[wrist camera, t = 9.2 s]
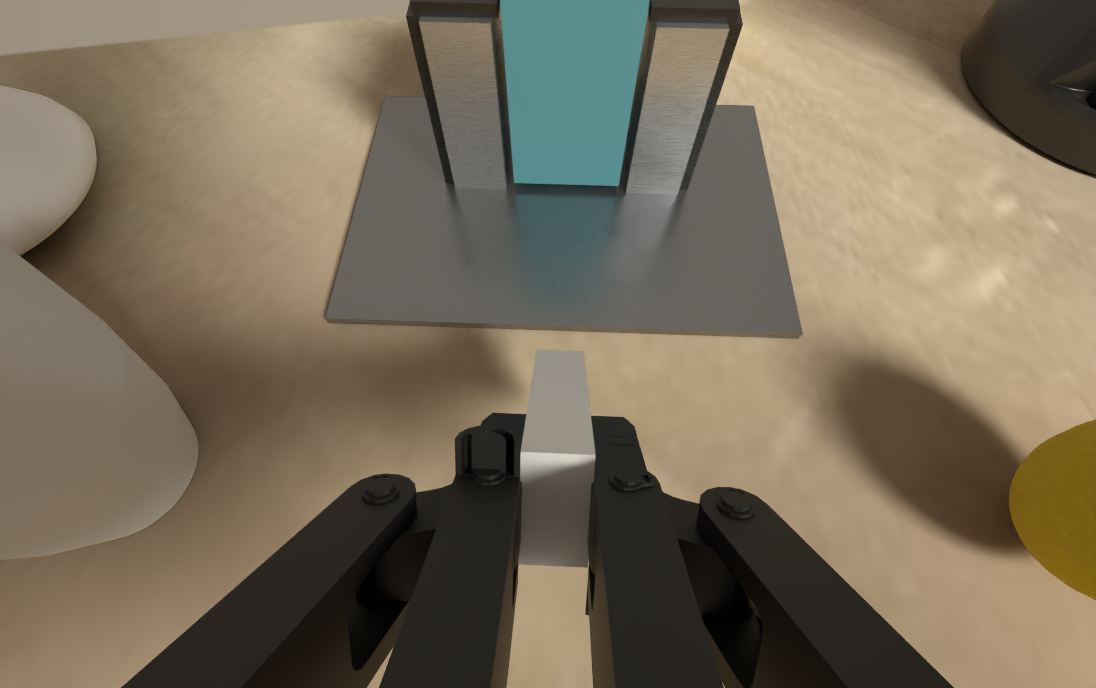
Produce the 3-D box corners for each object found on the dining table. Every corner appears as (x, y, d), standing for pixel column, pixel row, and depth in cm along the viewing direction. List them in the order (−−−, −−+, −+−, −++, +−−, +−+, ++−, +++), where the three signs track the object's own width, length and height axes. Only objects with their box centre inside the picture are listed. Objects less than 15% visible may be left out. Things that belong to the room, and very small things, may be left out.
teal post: (616, 114, 27) (658, -192, 17) (618, 186, 25) (669, -118, 14) (520, 111, 27) (503, -195, 17) (514, 182, 25) (490, -121, 15)
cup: (70, 367, 21) (-272, 192, 12) (267, 372, 21) (64, 200, 12) (-38, 585, 18) (-640, 558, 9) (200, 592, 17) (-161, 574, 9)
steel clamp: (751, 112, 28) (830, -82, 20) (798, 338, 22) (940, 184, 14) (387, 102, 29) (326, -92, 21) (328, 322, 22) (207, 163, 14)
